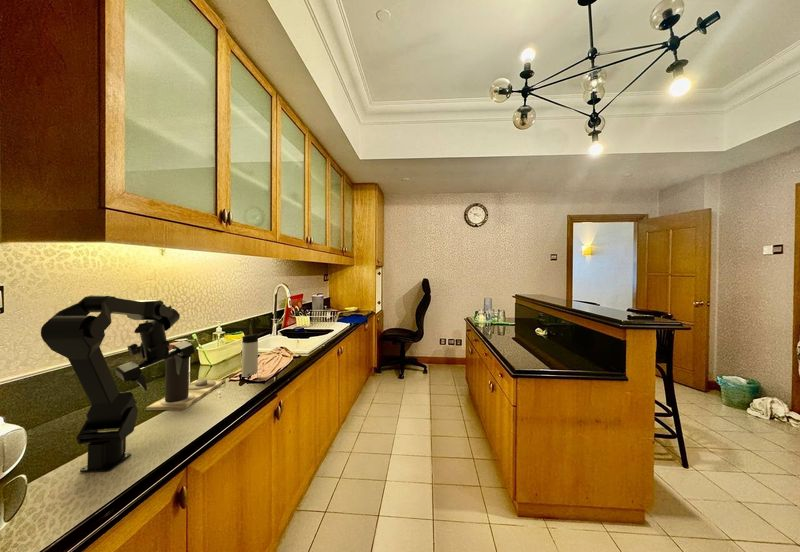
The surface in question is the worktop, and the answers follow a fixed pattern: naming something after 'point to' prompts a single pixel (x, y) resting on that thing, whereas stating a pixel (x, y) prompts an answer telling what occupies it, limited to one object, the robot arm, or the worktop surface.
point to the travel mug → (249, 355)
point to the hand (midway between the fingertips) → (162, 382)
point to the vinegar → (176, 380)
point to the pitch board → (195, 393)
